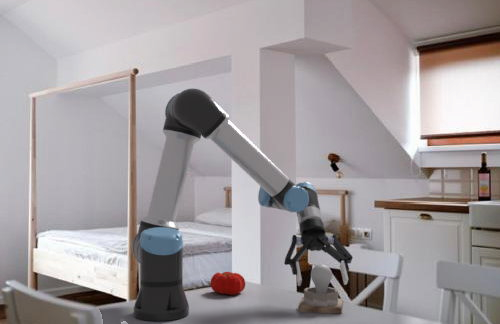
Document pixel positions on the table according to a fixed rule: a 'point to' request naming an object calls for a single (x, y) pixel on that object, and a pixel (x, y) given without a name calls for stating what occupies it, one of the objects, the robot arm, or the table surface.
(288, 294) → the table surface
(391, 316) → the table surface
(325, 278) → the lightbulb
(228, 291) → the tomato
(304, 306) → the bulb socket
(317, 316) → the table surface
